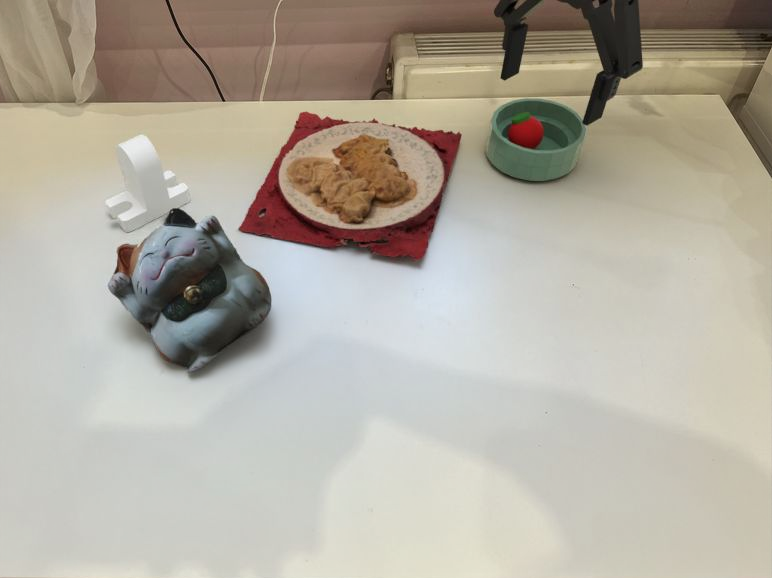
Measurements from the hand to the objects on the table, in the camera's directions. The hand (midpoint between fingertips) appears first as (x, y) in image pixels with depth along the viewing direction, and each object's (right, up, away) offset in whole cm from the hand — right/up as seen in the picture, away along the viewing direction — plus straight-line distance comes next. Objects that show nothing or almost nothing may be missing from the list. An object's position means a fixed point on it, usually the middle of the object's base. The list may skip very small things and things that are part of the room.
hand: (548, 97), depth 87 cm
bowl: (0, -5, +7) cm, 9 cm away
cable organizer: (-52, -13, +4) cm, 54 cm away
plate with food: (-24, -10, +5) cm, 27 cm away
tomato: (0, -5, +7) cm, 8 cm away
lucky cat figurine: (-43, -30, -9) cm, 53 cm away
